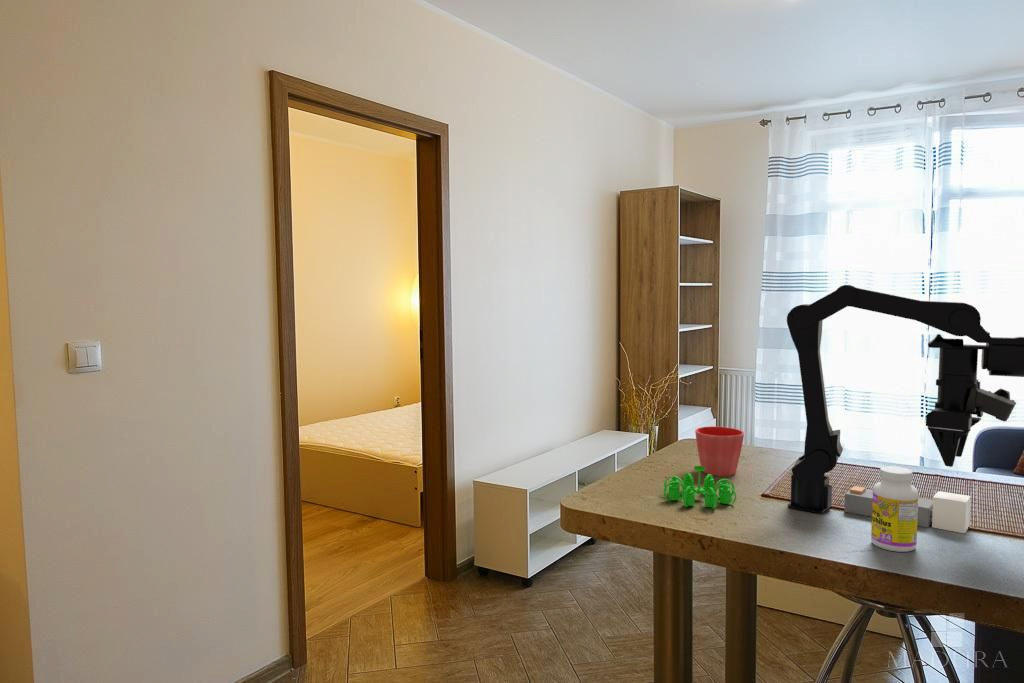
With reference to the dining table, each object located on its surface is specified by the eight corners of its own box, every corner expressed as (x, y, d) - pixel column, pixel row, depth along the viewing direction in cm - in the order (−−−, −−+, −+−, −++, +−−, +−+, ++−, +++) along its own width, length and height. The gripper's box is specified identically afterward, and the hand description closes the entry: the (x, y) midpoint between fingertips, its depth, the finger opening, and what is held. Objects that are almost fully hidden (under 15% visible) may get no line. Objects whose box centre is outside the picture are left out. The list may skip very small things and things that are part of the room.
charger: (915, 524, 127) (916, 494, 127) (921, 517, 131) (922, 488, 131) (964, 533, 123) (966, 502, 122) (969, 526, 126) (970, 496, 126)
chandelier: (747, 498, 145) (748, 465, 144) (722, 517, 133) (723, 481, 132) (678, 486, 154) (679, 455, 153) (649, 503, 142) (649, 469, 141)
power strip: (844, 511, 135) (845, 490, 134) (853, 504, 139) (854, 483, 139) (928, 527, 126) (928, 505, 125) (934, 519, 130) (935, 497, 130)
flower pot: (749, 477, 159) (750, 435, 158) (701, 478, 159) (701, 435, 158) (735, 466, 170) (736, 426, 169) (689, 466, 170) (690, 426, 169)
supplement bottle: (862, 539, 120) (865, 465, 119) (899, 538, 121) (902, 464, 120) (886, 554, 113) (889, 475, 112) (925, 552, 114) (928, 474, 113)
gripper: (1007, 383, 112) (1002, 480, 113) (1018, 372, 126) (1014, 458, 127) (927, 377, 119) (923, 468, 120) (946, 367, 133) (942, 449, 134)
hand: (953, 461), depth 125 cm, fingers open, 9 cm apart
